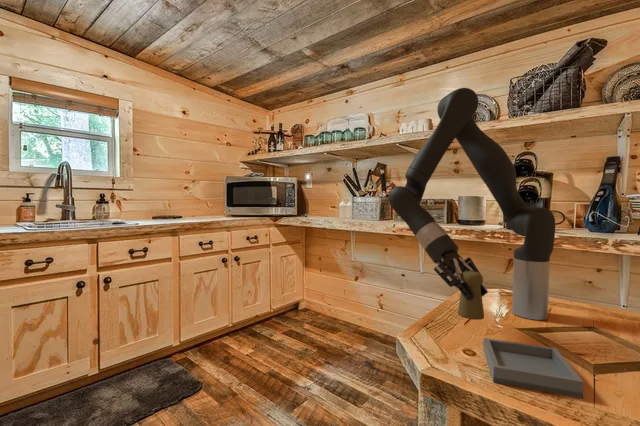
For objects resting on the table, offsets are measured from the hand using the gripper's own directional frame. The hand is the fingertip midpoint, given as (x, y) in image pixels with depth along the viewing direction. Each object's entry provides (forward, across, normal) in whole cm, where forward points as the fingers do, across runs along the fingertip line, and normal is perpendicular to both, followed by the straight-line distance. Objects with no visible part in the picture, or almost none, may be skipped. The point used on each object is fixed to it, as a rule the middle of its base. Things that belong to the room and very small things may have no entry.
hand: (478, 296), depth 78 cm
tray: (+17, -5, -1) cm, 18 cm away
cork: (+2, 0, +5) cm, 6 cm away
